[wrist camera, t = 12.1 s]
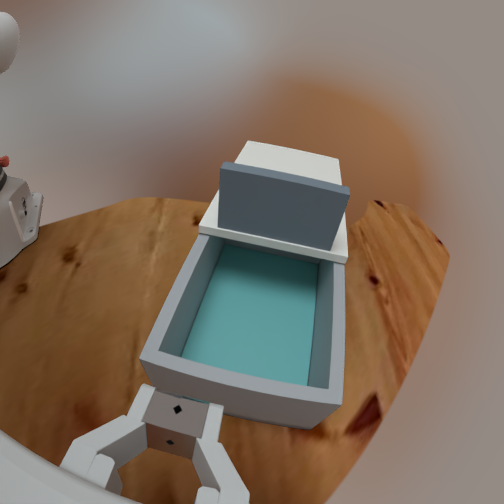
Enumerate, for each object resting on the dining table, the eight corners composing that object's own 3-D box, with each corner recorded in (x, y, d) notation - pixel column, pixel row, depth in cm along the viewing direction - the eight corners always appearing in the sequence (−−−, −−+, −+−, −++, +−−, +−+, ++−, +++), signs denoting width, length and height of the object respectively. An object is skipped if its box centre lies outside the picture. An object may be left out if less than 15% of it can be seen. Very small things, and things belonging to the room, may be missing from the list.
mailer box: (309, 429, 26) (341, 404, 20) (158, 395, 27) (138, 358, 21) (323, 267, 43) (341, 219, 37) (218, 244, 44) (220, 193, 38)
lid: (345, 263, 31) (370, 202, 25) (198, 232, 32) (198, 166, 26) (337, 164, 49) (348, 122, 43) (247, 145, 50) (252, 103, 44)
